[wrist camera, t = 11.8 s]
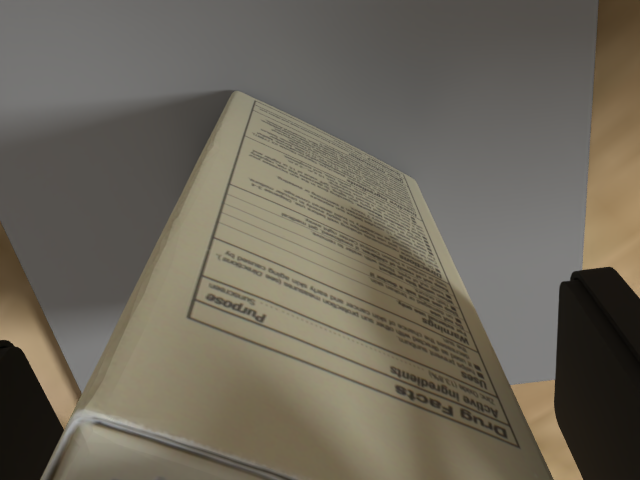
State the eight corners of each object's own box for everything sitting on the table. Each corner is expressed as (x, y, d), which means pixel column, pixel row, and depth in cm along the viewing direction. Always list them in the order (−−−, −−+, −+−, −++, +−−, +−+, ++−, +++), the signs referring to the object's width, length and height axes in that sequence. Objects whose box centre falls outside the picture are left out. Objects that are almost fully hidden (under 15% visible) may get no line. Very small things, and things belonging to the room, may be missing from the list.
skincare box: (177, 208, 17) (-67, 649, 6) (235, 82, 15) (32, 392, 5) (359, 291, 19) (411, 768, 8) (430, 183, 17) (627, 608, 6)
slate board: (586, -142, 14) (607, -149, 13) (562, 355, 21) (575, 377, 20) (-81, -16, 15) (-111, -13, 14) (111, 411, 23) (101, 433, 22)
